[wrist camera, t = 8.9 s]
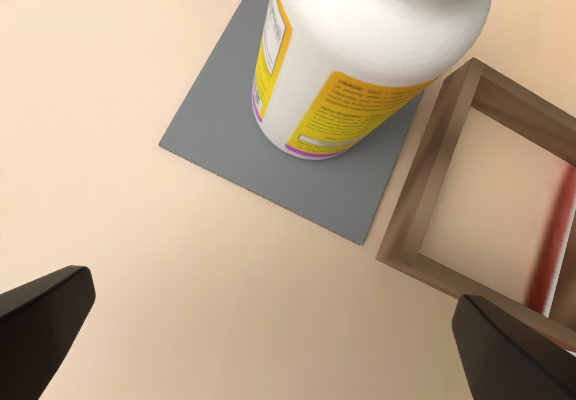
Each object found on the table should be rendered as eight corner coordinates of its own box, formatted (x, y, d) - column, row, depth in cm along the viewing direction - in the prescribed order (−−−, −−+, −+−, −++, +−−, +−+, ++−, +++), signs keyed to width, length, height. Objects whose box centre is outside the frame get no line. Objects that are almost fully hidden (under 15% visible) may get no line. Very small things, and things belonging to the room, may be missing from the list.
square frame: (553, 346, 20) (597, 358, 18) (375, 259, 19) (398, 260, 17) (597, 167, 23) (641, 157, 21) (445, 78, 22) (473, 57, 19)
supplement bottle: (384, 116, 20) (663, -106, 7) (305, 187, 18) (492, 52, 6) (311, 30, 20) (470, -344, 7) (224, 93, 18) (238, -252, 6)
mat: (359, 245, 19) (362, 244, 18) (159, 146, 17) (158, 144, 17) (427, 73, 21) (431, 69, 21) (259, -25, 20) (259, -31, 20)
